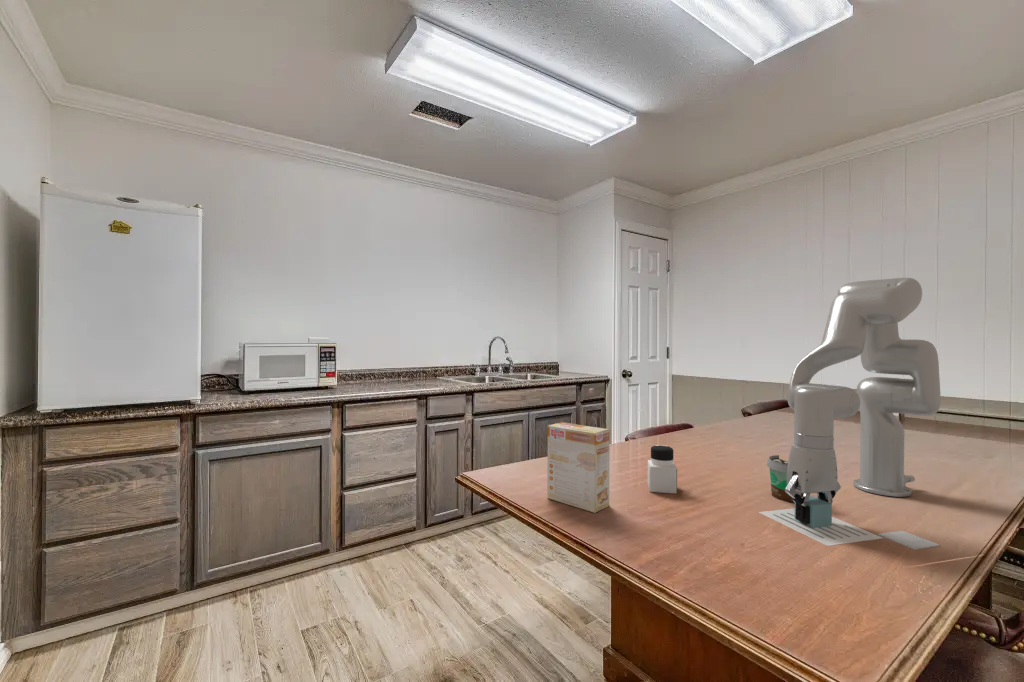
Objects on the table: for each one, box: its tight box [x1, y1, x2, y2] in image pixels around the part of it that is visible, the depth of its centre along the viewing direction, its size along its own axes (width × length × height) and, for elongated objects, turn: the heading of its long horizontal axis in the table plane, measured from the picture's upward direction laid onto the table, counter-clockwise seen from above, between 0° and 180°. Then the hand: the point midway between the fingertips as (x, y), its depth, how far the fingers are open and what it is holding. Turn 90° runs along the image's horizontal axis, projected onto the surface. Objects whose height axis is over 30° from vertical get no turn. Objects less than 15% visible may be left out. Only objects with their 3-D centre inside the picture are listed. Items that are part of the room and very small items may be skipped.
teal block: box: [794, 495, 833, 528], centre depth 103 cm, size 5×5×5 cm
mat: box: [877, 530, 941, 551], centre depth 94 cm, size 7×7×1 cm
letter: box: [758, 507, 883, 547], centre depth 102 cm, size 15×18×1 cm
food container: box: [766, 454, 804, 504], centre depth 119 cm, size 12×6×10 cm, turn 5°
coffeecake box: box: [546, 422, 611, 514], centre depth 115 cm, size 15×7×20 cm, turn 47°
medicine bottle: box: [647, 444, 678, 495], centre depth 126 cm, size 7×7×12 cm
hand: (812, 519), depth 103 cm, fingers closed on teal block, 5 cm apart
